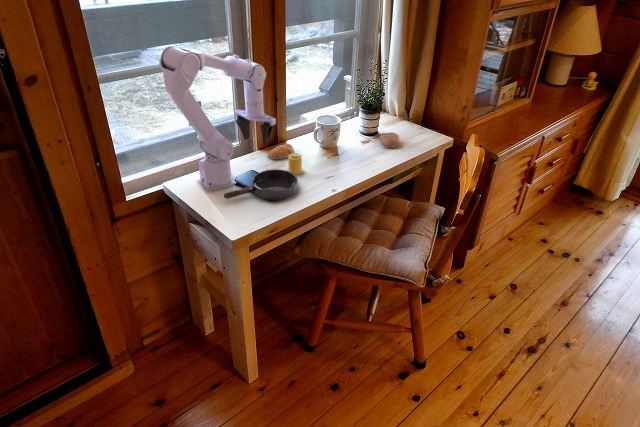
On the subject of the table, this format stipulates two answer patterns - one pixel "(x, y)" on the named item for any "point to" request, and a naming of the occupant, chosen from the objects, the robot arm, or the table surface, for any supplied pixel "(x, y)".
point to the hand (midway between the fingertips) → (256, 141)
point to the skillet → (275, 184)
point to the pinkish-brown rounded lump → (390, 140)
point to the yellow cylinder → (295, 163)
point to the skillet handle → (239, 192)
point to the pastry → (281, 152)
